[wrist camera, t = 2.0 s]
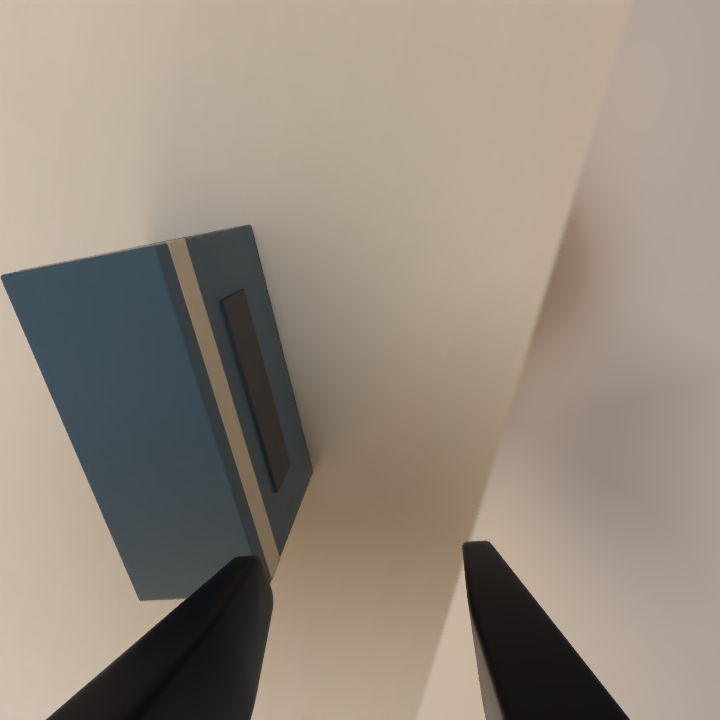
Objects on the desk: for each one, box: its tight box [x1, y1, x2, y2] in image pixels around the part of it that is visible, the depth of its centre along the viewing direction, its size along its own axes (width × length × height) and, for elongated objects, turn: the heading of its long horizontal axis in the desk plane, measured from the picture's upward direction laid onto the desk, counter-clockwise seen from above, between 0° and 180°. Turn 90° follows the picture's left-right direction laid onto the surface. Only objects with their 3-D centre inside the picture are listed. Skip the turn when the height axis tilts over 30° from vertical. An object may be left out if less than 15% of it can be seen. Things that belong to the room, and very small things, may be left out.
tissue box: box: [1, 225, 313, 601], centre depth 17 cm, size 11×5×7 cm, turn 11°
